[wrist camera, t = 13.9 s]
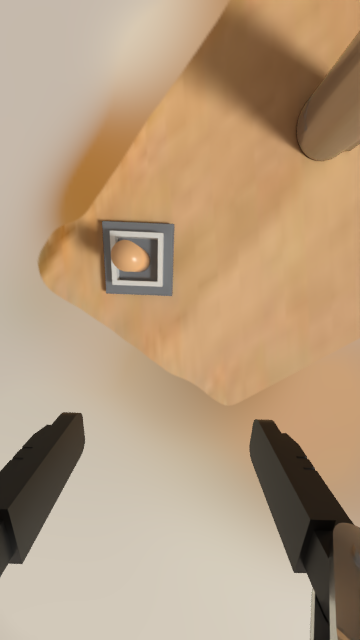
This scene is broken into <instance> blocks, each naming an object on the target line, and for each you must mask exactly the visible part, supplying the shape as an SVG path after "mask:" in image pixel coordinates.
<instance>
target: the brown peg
mask: <svg viewBox="0 0 360 640" xmlns="http://www.w3.org/2000/svg"><path fill="white" fill-rule="evenodd" d="M111 259H112V262H113V264H114V265H115V266H116V267H117V268H118V269H119V270H122V271H126V272H143V271H145V270H146V269H147V268H148V267H149V265H150V256H149V254H148V253H147V251H145V250H144V249H142V248H141V247H139V246H138V245H136V244H135V243H133V242H132V241H129V240H121V241H118V242H117V243H116V244H115V245H114V246H113V247H112V250H111Z"/></svg>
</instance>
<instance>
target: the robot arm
mask: <svg viewBox="0 0 360 640" xmlns="http://www.w3.org/2000/svg"><path fill="white" fill-rule="evenodd" d="M297 139H298V143H299V146H300V147H301V149H302V151H303V152H304V153H305V154H306V155H307V156H308V157H310V158H311V159H314V160H317V161H325V160H329V159H332V158H334V157H336V156H337V155H339V154H340V153H342V152H343V151H350V150H352V149H353V148H355V147H356V146H357V145H359V144H360V31H359V32H358V34H357V35H356V36H355V38H354V39H353V40H352V42H351V43H350V44H349V46H348V47H347V48H346V50H345V51H344V53H343V54H342V55H341V57H340V58H339V59H338V61H337V62H336V63H335V65H334V66H333V67H332V69H331V70H330V71H329V73H328V74H327V75H326V77H325V78H324V79H323V81H322V82H321V83H320V85H319V86H318V87H317V89H316V90H315V91H314V93H313V94H312V95H311V97H310V98H309V100H308V101H307V102H306V104H305V105H304V107H303V109H302V111H301V113H300V115H299V119H298V123H297ZM84 444H85V436H84V427H83V417H82V414H81V413H67V412H66V413H65V412H64V413H62V414H61V415H60V416H59V417H58V418H57V419H56V420H55V421H54V423H53V424H52V425H46V426H45V427H44V428H42V429H41V430H39V431H38V432H37V433H35V434H34V435H33V436H32V437H31V438H30V439H29V440H28V441H27V442H26V444H25V445H24V446H23V448H22V449H20V450H19V451H18V452H17V454H16V455H15V456H14V457H13V459H12V460H10V461H9V462H8V463H7V465H6V466H5V467H4V468H3V469H2V470H1V471H0V576H1V575H2V573H3V571H4V570H5V568H6V566H7V565H8V563H12V564H22V563H23V561H24V560H25V558H26V556H27V554H28V552H29V551H30V549H31V547H32V545H33V543H34V541H35V539H36V538H37V536H38V534H39V532H40V530H41V528H42V527H43V524H44V523H45V521H46V519H47V517H48V515H49V513H50V512H51V510H52V508H53V506H54V504H55V502H56V501H57V499H58V497H59V495H60V493H61V491H62V490H63V488H64V486H65V484H66V482H67V480H68V479H69V477H70V474H71V473H72V471H73V469H74V467H75V466H76V464H77V462H78V460H79V458H80V456H81V454H82V452H83V449H84ZM250 457H251V460H252V463H253V466H254V469H255V471H256V474H257V477H258V479H259V482H260V484H261V487H262V489H263V492H264V495H265V497H266V500H267V503H268V505H269V508H270V511H271V513H272V516H273V518H274V521H275V524H276V526H277V529H278V532H279V534H280V537H281V539H282V542H283V545H284V547H285V550H286V553H287V555H288V558H289V560H290V563H291V566H292V569H293V571H294V573H307V575H308V577H309V579H310V582H311V584H312V587H313V589H312V599H311V623H310V624H311V625H310V640H360V528H359V527H357V526H355V525H354V524H353V523H352V521H351V520H350V519H349V517H348V516H347V514H346V513H345V511H344V510H343V508H342V507H341V505H340V504H339V503H338V501H337V500H336V498H335V497H334V495H333V494H332V492H331V491H330V490H329V488H328V487H327V485H326V484H325V482H324V481H323V479H322V478H321V476H320V475H319V474H318V472H317V471H315V468H314V467H313V465H312V464H311V462H310V461H309V460H308V459H307V456H306V455H305V453H304V452H303V450H302V449H301V447H300V446H299V445H298V444H297V443H296V442H295V441H294V440H293V439H292V438H291V437H289V435H287V434H286V433H281V432H280V430H279V429H278V427H277V426H276V424H275V423H274V421H272V420H257V419H256V420H254V423H253V428H252V434H251V440H250Z"/></svg>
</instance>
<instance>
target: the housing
mask: <svg viewBox="0 0 360 640" xmlns="http://www.w3.org/2000/svg"><path fill="white" fill-rule="evenodd" d="M102 227H103V244H104V261H105V278H106V293H111V294H136V295H161V296H172V287H173V253H174V224H158V223H135V222H112V221H102ZM121 240H129V241H132V242H133V243H135V244H136V245H138V246H139V247H141V248H142V249H144V250H145V251H147V253H148V254H149V256H150V265H149V267H148V268H147V269H146V270H145V271H143V272H126V271H122V270H119V269H118V268H117V267H116V266H115V265H114V264H113V262H112V259H111V250H112V247H113V246H114V245H115V244H116V243H117V242H118V241H121Z"/></svg>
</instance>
